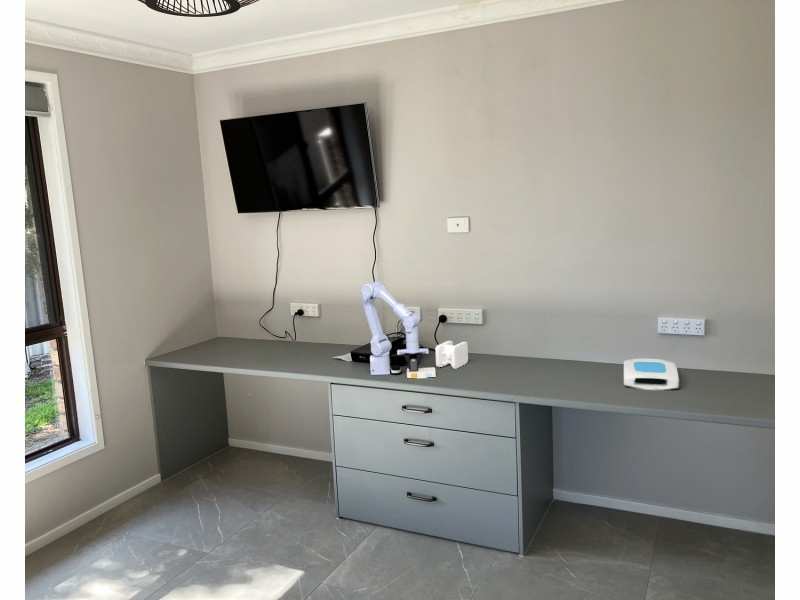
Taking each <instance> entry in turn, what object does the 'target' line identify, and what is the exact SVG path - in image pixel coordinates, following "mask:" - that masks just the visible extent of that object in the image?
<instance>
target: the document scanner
mask: <svg viewBox="0 0 800 600" xmlns="http://www.w3.org/2000/svg"><path fill="white" fill-rule="evenodd" d="M636 379H659V380H664V381H665V383H641V382H636ZM623 386H626V387H630V388H633V389H637V390H646V391H648V390H649V391H650V390H651V391H666V390H673V389H678V388H679V387H680V377H679V372H678V369H677V365H676V363H675V362H673V361H669V360H666V359H662V358H649V357H648V358H644V357H641V358H632V359H626V360H624V361H623Z"/></svg>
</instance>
